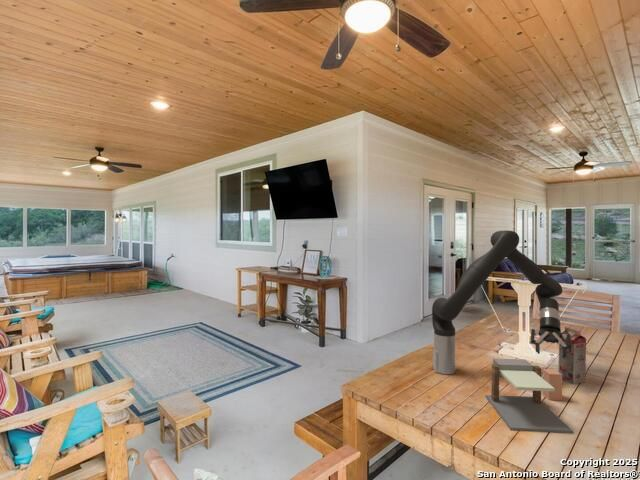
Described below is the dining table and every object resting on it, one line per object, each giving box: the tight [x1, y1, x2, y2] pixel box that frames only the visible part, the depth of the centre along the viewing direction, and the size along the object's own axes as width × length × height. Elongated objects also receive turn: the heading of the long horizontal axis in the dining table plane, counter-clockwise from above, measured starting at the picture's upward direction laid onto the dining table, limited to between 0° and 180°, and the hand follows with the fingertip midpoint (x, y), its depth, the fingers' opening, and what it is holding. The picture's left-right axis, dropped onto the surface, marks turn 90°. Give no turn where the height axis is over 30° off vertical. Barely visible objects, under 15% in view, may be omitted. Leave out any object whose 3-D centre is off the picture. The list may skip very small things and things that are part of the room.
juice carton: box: [558, 326, 587, 384], centre depth 148 cm, size 7×7×22 cm
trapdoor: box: [492, 358, 555, 392], centre depth 124 cm, size 20×12×5 cm, turn 174°
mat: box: [484, 394, 574, 434], centre depth 122 cm, size 19×22×1 cm
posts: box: [490, 363, 543, 404], centre depth 129 cm, size 17×2×14 cm, turn 84°
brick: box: [542, 368, 563, 401], centre depth 133 cm, size 4×4×10 cm
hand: (551, 354), depth 141 cm, fingers open, 8 cm apart
